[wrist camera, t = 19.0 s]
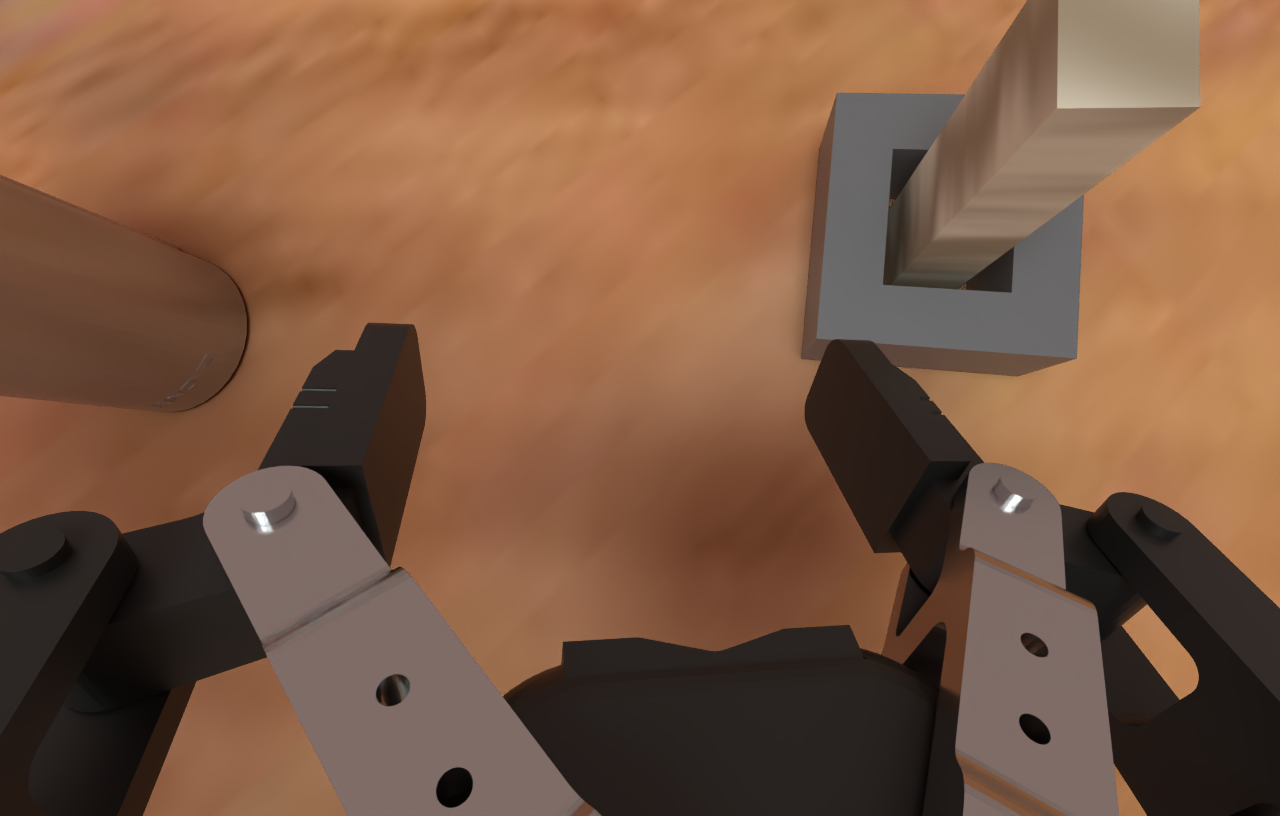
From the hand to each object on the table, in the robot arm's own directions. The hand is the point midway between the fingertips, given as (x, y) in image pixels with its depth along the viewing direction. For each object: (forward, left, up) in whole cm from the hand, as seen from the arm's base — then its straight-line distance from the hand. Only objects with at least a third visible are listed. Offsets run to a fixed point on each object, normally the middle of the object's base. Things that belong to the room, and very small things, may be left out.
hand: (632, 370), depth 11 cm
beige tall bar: (+1, +14, -18) cm, 23 cm away
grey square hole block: (+1, +14, -18) cm, 23 cm away
